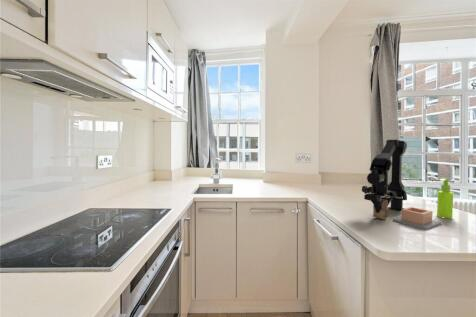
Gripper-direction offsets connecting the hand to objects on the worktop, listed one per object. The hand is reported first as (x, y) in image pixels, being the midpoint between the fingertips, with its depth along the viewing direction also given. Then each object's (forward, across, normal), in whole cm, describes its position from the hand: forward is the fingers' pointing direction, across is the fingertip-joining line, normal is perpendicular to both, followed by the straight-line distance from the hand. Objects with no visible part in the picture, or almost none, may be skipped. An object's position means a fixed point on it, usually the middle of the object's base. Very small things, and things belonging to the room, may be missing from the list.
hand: (380, 212), depth 116 cm
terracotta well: (+3, -9, +12) cm, 15 cm away
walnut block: (+3, 0, 0) cm, 3 cm away
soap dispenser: (+4, -30, +15) cm, 34 cm away
